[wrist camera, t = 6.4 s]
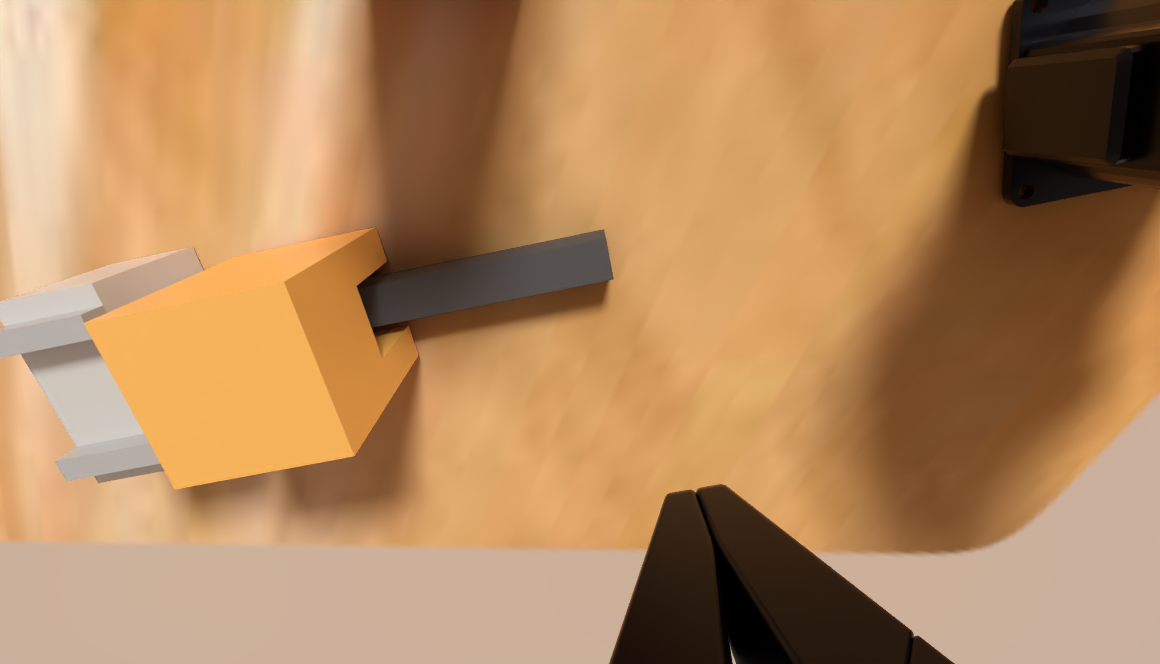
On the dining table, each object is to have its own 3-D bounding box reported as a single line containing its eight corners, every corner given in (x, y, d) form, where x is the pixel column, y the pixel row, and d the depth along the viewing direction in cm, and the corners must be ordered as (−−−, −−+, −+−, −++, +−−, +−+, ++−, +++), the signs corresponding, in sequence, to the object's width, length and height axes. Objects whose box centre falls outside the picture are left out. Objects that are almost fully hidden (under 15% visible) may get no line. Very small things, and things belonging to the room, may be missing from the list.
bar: (603, 229, 20) (605, 238, 19) (611, 268, 20) (613, 279, 19) (143, 324, 21) (114, 338, 20) (160, 358, 22) (134, 375, 20)
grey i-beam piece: (192, 246, 20) (67, 291, 15) (261, 398, 22) (171, 481, 17) (112, 263, 20) (-38, 314, 15) (188, 412, 22) (78, 499, 17)
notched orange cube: (375, 226, 20) (283, 281, 13) (418, 355, 21) (354, 456, 15) (235, 256, 20) (83, 323, 14) (289, 380, 22) (175, 489, 15)
